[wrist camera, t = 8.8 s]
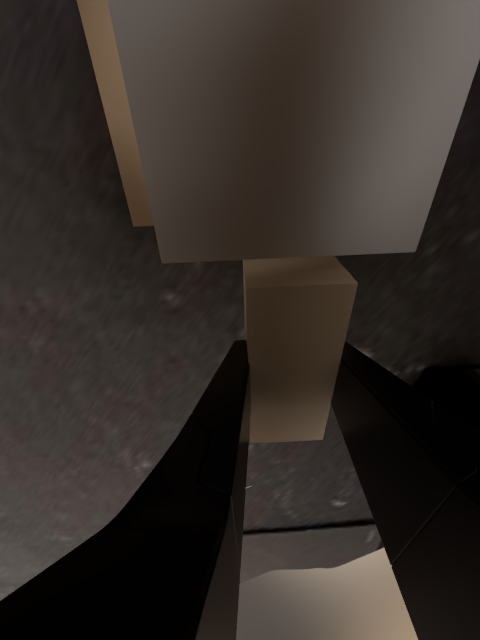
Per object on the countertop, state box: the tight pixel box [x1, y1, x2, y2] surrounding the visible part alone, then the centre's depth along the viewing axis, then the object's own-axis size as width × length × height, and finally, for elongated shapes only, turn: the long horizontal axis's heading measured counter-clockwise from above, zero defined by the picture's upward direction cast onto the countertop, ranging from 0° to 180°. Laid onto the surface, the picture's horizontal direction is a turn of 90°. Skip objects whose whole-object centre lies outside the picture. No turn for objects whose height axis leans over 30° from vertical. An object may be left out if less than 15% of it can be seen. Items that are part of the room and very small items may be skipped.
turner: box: [107, 0, 480, 443], centre depth 7 cm, size 7×11×2 cm, turn 2°
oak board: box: [77, 0, 154, 227], centre depth 12 cm, size 14×18×2 cm
